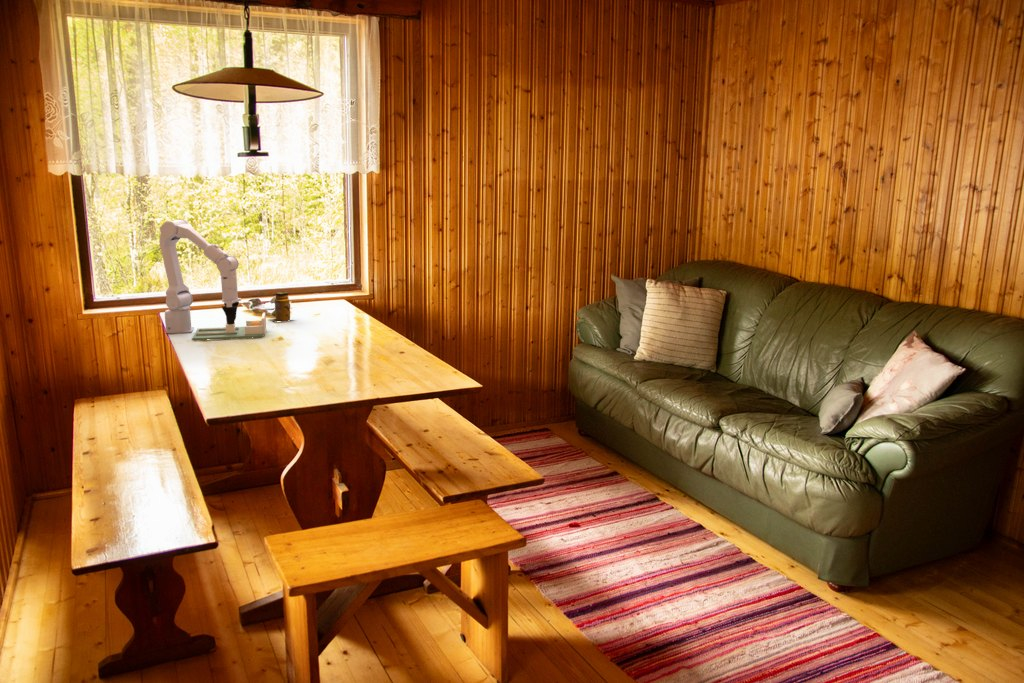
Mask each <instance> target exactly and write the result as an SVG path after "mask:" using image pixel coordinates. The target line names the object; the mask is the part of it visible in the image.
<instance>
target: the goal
mask: <svg viewBox="0 0 1024 683" xmlns="http://www.w3.org/2000/svg"><path fill="white" fill-rule="evenodd" d="M266 318H267V317H266V312H262V315H261V319H257V320H255V319H253V320H252V319H251V320H246V321H245V325H244V327H245V334H264V335H265V334H266V330H267V322H266ZM253 321H259V322H260V323H261V326H251V323H252V322H253Z"/></svg>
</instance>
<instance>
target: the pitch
mask: <svg viewBox="0 0 1024 683" xmlns="http://www.w3.org/2000/svg"><path fill="white" fill-rule="evenodd" d="M264 336H265V334H245V326H235V332H226V326H225V327H223V326H222V327H207V328H206V327H203V328H199V327H198V328H197V329H196V330H195V332H194V334H193V336H192V337H191V340H201V341H208V340H207V339H224V340H232V339H231V338H246V339H256V338H255V337H264ZM252 337H254V338H252ZM264 338H265V337H264Z"/></svg>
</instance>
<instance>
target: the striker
mask: <svg viewBox="0 0 1024 683" xmlns="http://www.w3.org/2000/svg"><path fill="white" fill-rule="evenodd" d="M225 318H226V317H225ZM225 327H226V332H235V327H236V324H235V321H234V324H228V322H227V318H226V323H225Z"/></svg>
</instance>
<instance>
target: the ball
mask: <svg viewBox="0 0 1024 683" xmlns="http://www.w3.org/2000/svg"><path fill="white" fill-rule="evenodd" d="M251 326H261V323H260V322H259V321H253V322H252V323H251Z"/></svg>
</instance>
